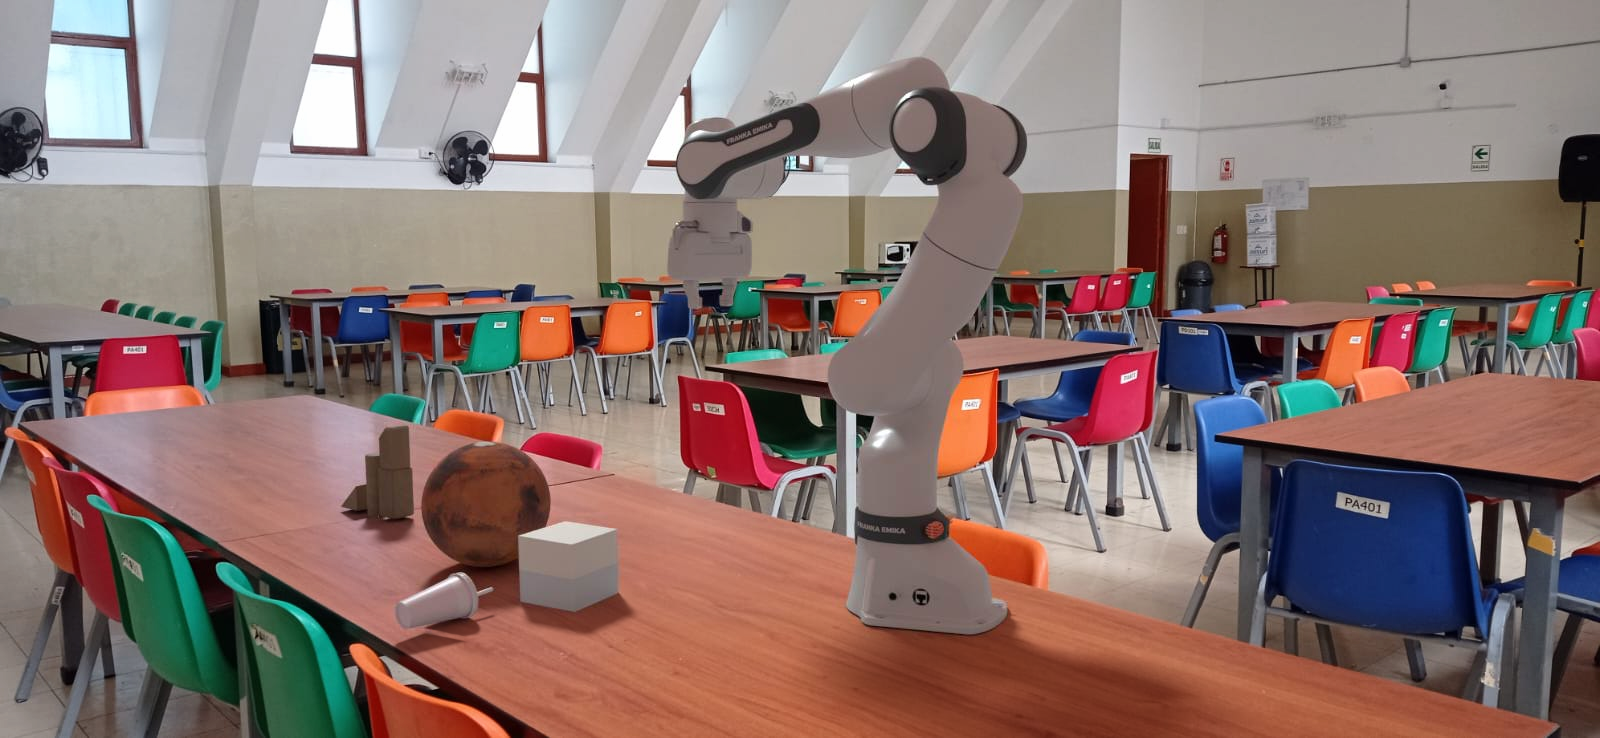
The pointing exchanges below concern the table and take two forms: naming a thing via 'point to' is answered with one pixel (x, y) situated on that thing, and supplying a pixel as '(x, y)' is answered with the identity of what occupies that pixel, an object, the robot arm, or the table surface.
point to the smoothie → (440, 602)
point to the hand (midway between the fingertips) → (711, 307)
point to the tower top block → (568, 549)
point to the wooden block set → (386, 478)
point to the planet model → (484, 503)
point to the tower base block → (568, 589)
